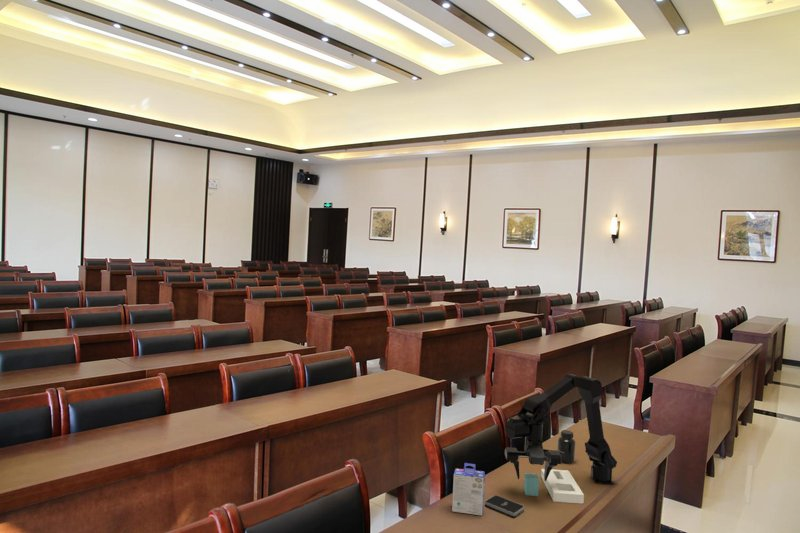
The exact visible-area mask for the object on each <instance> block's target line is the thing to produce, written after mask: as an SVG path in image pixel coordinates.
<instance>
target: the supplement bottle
mask: <svg viewBox="0 0 800 533" xmlns="http://www.w3.org/2000/svg"><path fill="white" fill-rule="evenodd" d="M556 451H558V452H559V454H560V455H561V457H562V463H563V464H566V465H571V464H574V462H575V456H576V453H575V452H576V440H575V439H574V432H573V431H571V430H568V429H562V430H561V431H560V436H559V437H558V439H557V450H556Z"/></svg>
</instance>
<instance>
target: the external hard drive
mask: <svg viewBox="0 0 800 533" xmlns="http://www.w3.org/2000/svg"><path fill="white" fill-rule="evenodd" d="M484 506H485V507H486V508H487V509H490V510H493V511H495V512H498V513H500V514H502V515H505V516H507V517H509V518H513V519H515V518H517V517H518V516H520V515H521V514H522V513H523V512H524V511H525V505H523V504H520V503H518V502H515V501H513V500H510V499H507V498H505V497H503V496H500V495H497V494H494V495H493V496H490V497H489V498H488V499H486V500H484Z"/></svg>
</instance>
